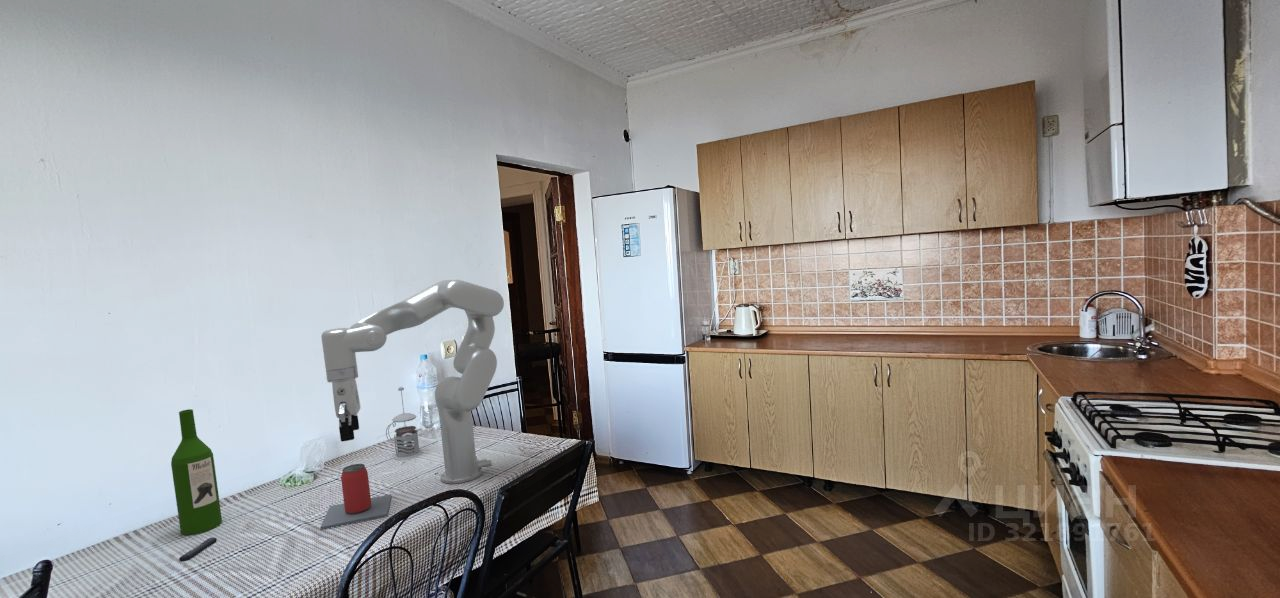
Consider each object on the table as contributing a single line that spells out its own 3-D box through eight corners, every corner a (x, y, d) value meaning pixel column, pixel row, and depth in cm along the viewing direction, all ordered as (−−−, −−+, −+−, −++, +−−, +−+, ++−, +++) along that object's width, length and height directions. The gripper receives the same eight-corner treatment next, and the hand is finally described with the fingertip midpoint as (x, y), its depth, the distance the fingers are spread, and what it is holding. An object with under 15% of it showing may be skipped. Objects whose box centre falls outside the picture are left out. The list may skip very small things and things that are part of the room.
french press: (416, 459, 196) (408, 389, 194) (383, 461, 196) (375, 391, 194) (427, 449, 205) (420, 382, 203) (395, 452, 206) (388, 385, 204)
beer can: (360, 515, 151) (355, 472, 150) (339, 514, 152) (334, 472, 151) (376, 504, 158) (372, 462, 157) (356, 503, 159) (351, 462, 158)
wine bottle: (194, 537, 147) (178, 416, 145) (173, 533, 150) (156, 415, 148) (229, 521, 155) (214, 406, 153) (208, 518, 159) (193, 405, 156)
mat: (391, 496, 164) (391, 494, 164) (387, 516, 151) (387, 513, 151) (330, 508, 159) (329, 506, 159) (320, 530, 146) (320, 527, 146)
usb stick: (208, 542, 144) (207, 537, 144) (218, 542, 144) (217, 536, 144) (178, 562, 135) (177, 556, 135) (188, 562, 135) (187, 556, 135)
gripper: (353, 377, 145) (361, 441, 147) (361, 366, 161) (369, 424, 163) (320, 382, 143) (329, 447, 144) (332, 370, 159) (340, 429, 160)
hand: (350, 435), depth 154 cm, fingers open, 9 cm apart
